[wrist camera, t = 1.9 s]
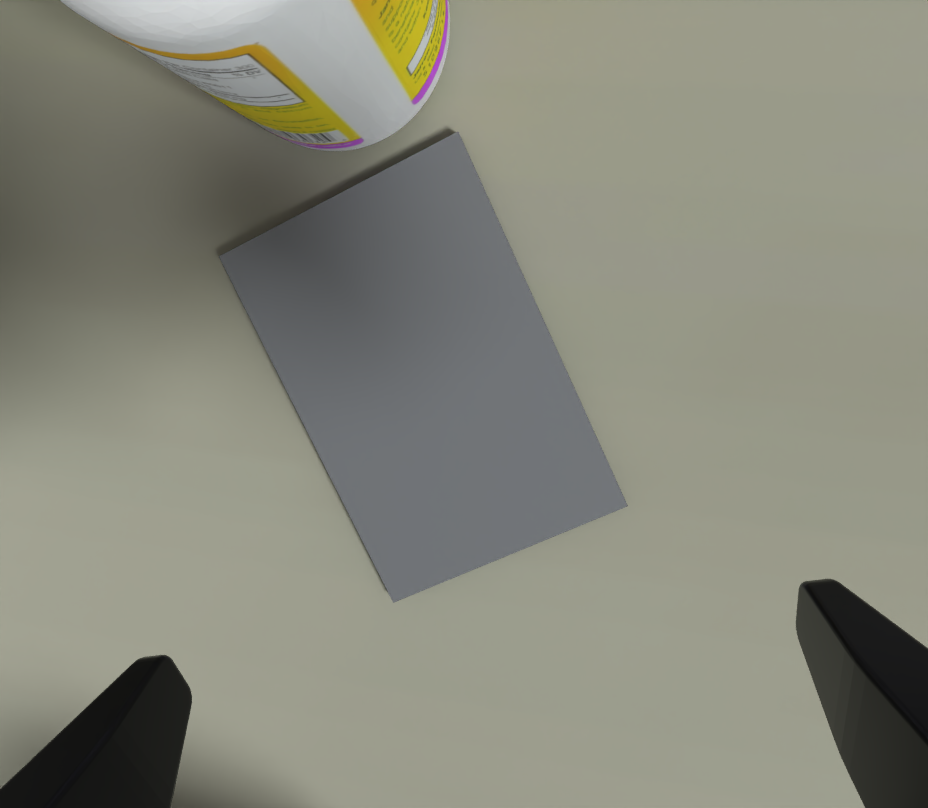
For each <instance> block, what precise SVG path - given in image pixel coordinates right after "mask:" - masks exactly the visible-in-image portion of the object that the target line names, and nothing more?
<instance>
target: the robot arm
mask: <svg viewBox="0 0 928 808" xmlns="http://www.w3.org/2000/svg"><path fill="white" fill-rule="evenodd" d="M796 630H797V635H798V639H799V642H800V645H801V648H802V651H803V654H804V656H805V659H806V662H807V665H808V668H809V670H810V673H811V676H812V679H813V682H814V684H815V687H816V690H817V693H818V695H819V698H820V701H821V704H822V707H823V709H824V712H825V715H826V718H827V721H828V723H829V726H830V729H831V732H832V734H833V737H834V740H835V742H836V745H837V748H838V750H839V753H840V755H841V758H842V760H843V762H844V764H845V766H846V769H847V771H848V773H849V775H850V777H851V779H852V781H853V783H854V785H855V788H856V790H857V792H858V794H859V796H860V798H861V800H862V802H863V804H864V806H865V808H928V648H927V647H925V646H924V645H923V644H921V643H920V642H919V641H917V640H916V639H915V638H913V637H912V636H911V635H909V634H908V633H907V632H905V631H904V630H903V629H901V628H900V627H898V626H897V625H896V624H894V623H893V622H892V621H890V620H889V619H888V618H886V617H885V616H884V615H882V614H881V613H880V612H878V611H877V610H876V609H874V608H873V607H872V606H870V605H869V604H868V603H866V602H865V601H864V600H862V599H861V598H859V597H858V596H857V595H855V594H854V593H853V592H851V591H850V590H849V589H847V588H846V587H845V586H843V585H842V584H841V583H839V582H838V581H835V580H833V579H822V580H813V581H805V582H803V583H802V584H801V585H800V587H799V592H798V604H797V615H796ZM191 704H192V695H191V690H190V687H189V685H188V684H187V682H186V681H185V679H184V678H183V676H182V674H181V673H180V671H179V670H178V668H177V667H176V665H175V663H174V662H173V660H172V659H171V658H170V657H168V656H166V655H157V656H149V657H143V658H140V659H138V660H136V661H135V662H134V663H133V664H132V665H131V666H130V667H129V668H128V669H127V670H125V671H124V672H123V673H122V674H121V675H120V676H119V677H118V678H117V679H116V680H115V681H114V682H113V683H112V684H111V685H110V686H109V687H108V688H106V689H105V690H104V691H103V692H102V693H101V694H100V695H99V696H98V697H97V698H96V699H95V700H94V701H93V702H92V703H91V704H90V705H89V706H87V707H86V708H85V709H84V710H83V711H82V712H81V713H80V714H79V715H78V716H77V717H76V718H75V719H74V720H73V721H72V722H71V723H70V724H68V725H67V726H66V727H65V728H64V729H63V730H62V731H61V732H60V733H59V734H58V735H57V736H56V737H55V738H54V739H53V740H52V741H51V742H49V743H48V744H47V745H46V746H45V747H44V748H43V749H42V750H41V751H40V752H39V753H38V754H37V755H36V756H35V757H34V758H33V759H32V760H31V761H29V762H28V763H27V764H26V765H25V766H24V767H23V768H22V769H21V770H20V771H19V772H18V773H17V774H16V775H15V776H14V777H13V778H12V779H10V780H9V781H8V782H7V783H6V784H5V785H4V786H3V787H2V788H1V789H0V808H170V806H171V802H172V798H173V794H174V789H175V784H176V779H177V774H178V769H179V764H180V759H181V754H182V749H183V744H184V739H185V735H186V730H187V725H188V720H189V715H190V710H191Z"/></svg>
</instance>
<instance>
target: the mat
mask: <svg viewBox="0 0 928 808" xmlns="http://www.w3.org/2000/svg"><path fill="white" fill-rule="evenodd" d="M219 258H220V260H221V262H222V264H223V266H224V268H225V270H226V272H227V274H228V276H229V278H230V280H231V282H232V284H233V286H234V288H235V290H236V292H237V294H238V296H239V298H240V300H241V302H242V304H243V306H244V308H245V310H246V311H247V313H248V315H249V317H250V319H251V321H252V323H253V325H254V327H255V329H256V331H257V333H258V335H259V337H260V339H261V341H262V343H263V345H264V347H265V349H266V351H267V353H268V355H269V357H270V359H271V361H272V363H273V365H274V367H275V369H276V371H277V373H278V375H279V377H280V379H281V381H282V383H283V385H284V387H285V389H286V391H287V393H288V395H289V397H290V399H291V401H292V403H293V405H294V407H295V409H296V411H297V413H298V415H299V417H300V419H301V421H302V423H303V424H304V426H305V428H306V430H307V432H308V434H309V436H310V438H311V440H312V442H313V444H314V446H315V448H316V450H317V452H318V454H319V456H320V458H321V460H322V462H323V464H324V466H325V468H326V470H327V472H328V474H329V476H330V478H331V480H332V482H333V484H334V486H335V488H336V490H337V492H338V494H339V496H340V498H341V500H342V502H343V504H344V506H345V508H346V510H347V512H348V514H349V516H350V518H351V520H352V522H353V524H354V526H355V528H356V530H357V532H358V534H359V536H360V537H361V539H362V541H363V543H364V545H365V547H366V549H367V551H368V553H369V555H370V557H371V559H372V561H373V563H374V565H375V567H376V569H377V571H378V573H379V575H380V577H381V579H382V581H383V583H384V585H385V587H386V589H387V591H388V593H389V595H390V597H391V599H392V601H393V602H396V601H398V600H401V599H403V598H406V597H408V596H410V595H413V594H415V593H418V592H420V591H423V590H425V589H427V588H430V587H432V586H435V585H437V584H440V583H442V582H444V581H447V580H449V579H452V578H454V577H457V576H459V575H461V574H464V573H466V572H469V571H471V570H474V569H476V568H478V567H481V566H483V565H486V564H488V563H491V562H493V561H495V560H498V559H500V558H503V557H505V556H508V555H510V554H512V553H515V552H517V551H520V550H522V549H525V548H527V547H529V546H532V545H534V544H537V543H539V542H542V541H544V540H546V539H549V538H551V537H554V536H556V535H559V534H561V533H563V532H566V531H568V530H571V529H573V528H576V527H578V526H580V525H583V524H585V523H588V522H590V521H593V520H595V519H597V518H600V517H602V516H605V515H607V514H610V513H612V512H614V511H617V510H619V509H622V508H624V507H627V506H628V505H627V503H626V501H625V499H624V497H623V494H622V492H621V490H620V488H619V486H618V483H617V481H616V479H615V477H614V475H613V472H612V470H611V468H610V466H609V463H608V461H607V459H606V457H605V455H604V452H603V450H602V448H601V446H600V444H599V441H598V439H597V437H596V435H595V433H594V430H593V428H592V426H591V424H590V422H589V419H588V417H587V415H586V413H585V410H584V408H583V406H582V404H581V402H580V399H579V397H578V395H577V393H576V391H575V388H574V386H573V384H572V382H571V380H570V377H569V375H568V373H567V371H566V369H565V366H564V364H563V362H562V360H561V357H560V355H559V353H558V351H557V349H556V346H555V344H554V342H553V340H552V338H551V335H550V333H549V331H548V329H547V327H546V324H545V322H544V320H543V318H542V316H541V313H540V311H539V309H538V307H537V305H536V302H535V300H534V298H533V296H532V293H531V291H530V289H529V287H528V285H527V282H526V280H525V278H524V276H523V274H522V271H521V269H520V267H519V265H518V263H517V260H516V258H515V256H514V254H513V252H512V249H511V247H510V245H509V243H508V240H507V238H506V236H505V234H504V232H503V229H502V227H501V225H500V223H499V221H498V218H497V216H496V214H495V212H494V210H493V207H492V205H491V203H490V201H489V199H488V196H487V194H486V192H485V190H484V187H483V185H482V183H481V181H480V179H479V176H478V174H477V172H476V170H475V168H474V165H473V163H472V161H471V159H470V157H469V154H468V152H467V150H466V148H465V146H464V143H463V141H462V139H461V137H460V135H459V132H456V133H454V134H452V135H450V136H448V137H446V138H445V139H443V140H441V141H439V142H437V143H435V144H433V145H431V146H429V147H427V148H425V149H423V150H422V151H420V152H418V153H416V154H414V155H412V156H410V157H408V158H406V159H404V160H402V161H400V162H399V163H397V164H395V165H393V166H391V167H389V168H387V169H385V170H383V171H381V172H379V173H378V174H376V175H374V176H372V177H370V178H368V179H366V180H364V181H362V182H360V183H358V184H356V185H355V186H353V187H351V188H349V189H347V190H345V191H343V192H341V193H339V194H337V195H335V196H333V197H332V198H330V199H328V200H326V201H324V202H322V203H320V204H318V205H316V206H314V207H312V208H311V209H309V210H307V211H305V212H303V213H301V214H299V215H297V216H295V217H293V218H291V219H289V220H288V221H286V222H284V223H282V224H280V225H278V226H276V227H274V228H272V229H270V230H268V231H266V232H265V233H263V234H261V235H259V236H257V237H255V238H253V239H251V240H249V241H247V242H245V243H244V244H242V245H240V246H238V247H236V248H234V249H232V250H230V251H228V252H226V253H224V254H222V255H221V256H219Z"/></svg>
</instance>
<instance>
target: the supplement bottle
mask: <svg viewBox="0 0 928 808" xmlns="http://www.w3.org/2000/svg"><path fill="white" fill-rule="evenodd" d="M60 1H61V2H62V3H64V4H65V5H66V6H68V7H69V8H70V9H72V10H73V11H75V12H76V13H77V14H79V15H81V16H82V17H84V18H85V19H87V20H89V21H90V22H92V23H93V24H95V25H97V26H98V27H100V28H101V29H103V30H105V31H106V32H108V33H110V34H111V35H113V36H114V37H116V38H118V39H120V40H121V41H123V42H125V43H126V44H128V45H130V46H131V47H133V48H135V49H136V50H138V51H139V52H141V53H143V54H144V55H146V56H148V57H149V58H151V59H152V60H154V61H156V62H157V63H159V64H161V65H162V66H164V67H166V68H167V69H169V70H170V71H172V72H174V73H175V74H177V75H179V76H180V77H182V78H183V79H185V80H187V81H188V82H190V83H192V84H193V85H195V86H196V87H198V88H199V89H201V90H203V91H204V92H206V93H208V94H209V95H211V96H212V97H214V98H216V99H217V100H219V101H220V102H222V103H224V104H225V105H227V106H228V107H230V108H231V109H233V110H235V111H236V112H238V113H239V114H241V115H243V116H245V117H246V118H248V119H249V120H251V121H253V122H254V123H256V124H258V125H259V126H261V127H263V128H264V129H266V130H268V131H269V132H271V133H273V134H275V135H277V136H279V137H281V138H283V139H285V140H287V141H290V142H292V143H294V144H297V145H300V146H303V147H307V148H311V149H315V150H322V151H347V150H354V149H358V148H363V147H366V146H369V145H372V144H374V143H377V142H379V141H381V140H383V139H385V138H387V137H389V136H391V135H392V134H394V133H395V132H397V131H398V130H399V129H401V128H402V127H403V126H404V125H405V124H407V123H408V122H409V121H410V120H411V119H412V118H413V117H414V116H415V115H416V114H417V113H418V111H419V110H420V109H421V108H422V106H423V105H424V104H425V102H426V101H427V100H428V98H429V96H430V95H431V93H432V91H433V89H434V88H435V85H436V83H437V81H438V79H439V77H440V74H441V72H442V69H443V66H444V62H445V59H446V55H447V49H448V44H449V33H450V13H449V2H448V0H60Z"/></svg>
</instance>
